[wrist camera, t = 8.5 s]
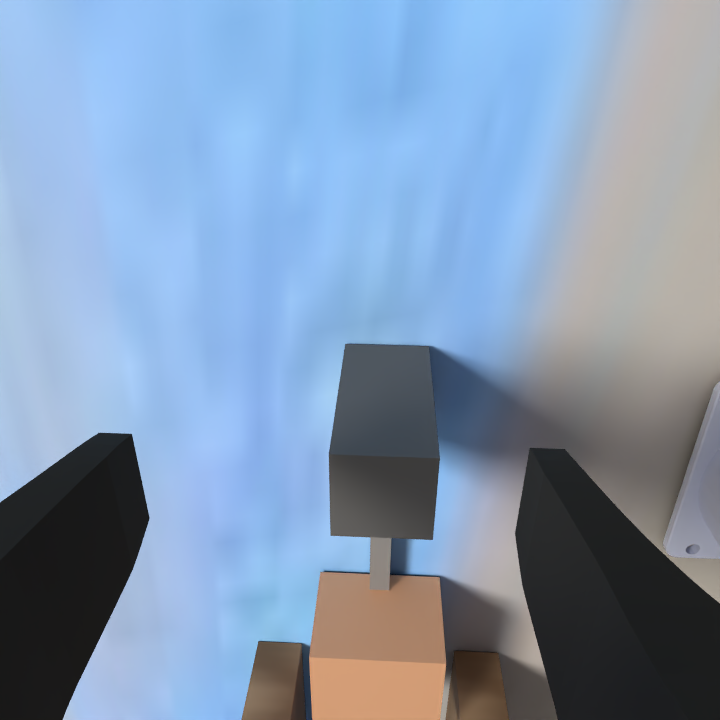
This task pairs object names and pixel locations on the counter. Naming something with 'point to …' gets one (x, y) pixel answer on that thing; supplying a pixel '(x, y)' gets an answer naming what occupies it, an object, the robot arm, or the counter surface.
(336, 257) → the counter surface
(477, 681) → the brown wooden u-shaped piece
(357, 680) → the grey and tan dumbbell
